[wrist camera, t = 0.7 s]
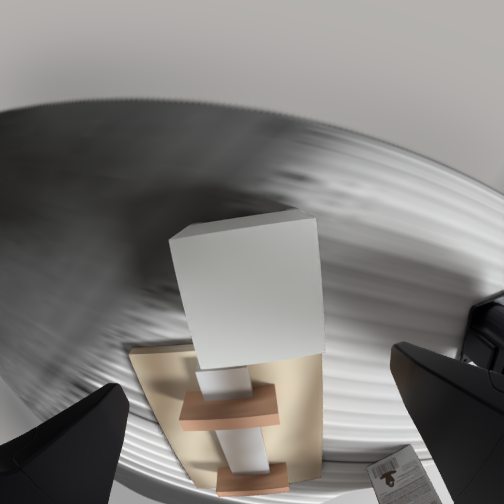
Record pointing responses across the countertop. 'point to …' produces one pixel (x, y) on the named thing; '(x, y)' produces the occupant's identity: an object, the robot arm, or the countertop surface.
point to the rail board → (237, 418)
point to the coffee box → (402, 479)
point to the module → (251, 288)
